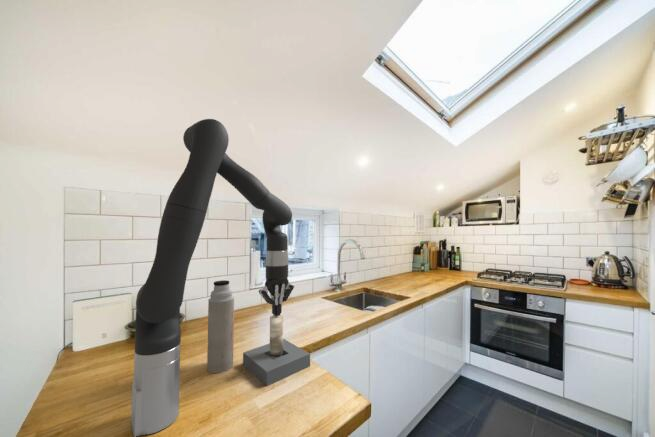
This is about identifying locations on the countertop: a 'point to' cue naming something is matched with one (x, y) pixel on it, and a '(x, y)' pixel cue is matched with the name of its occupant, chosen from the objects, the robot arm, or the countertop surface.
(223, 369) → the thermos bottle
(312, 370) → the countertop surface
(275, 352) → the ash peg
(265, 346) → the gray board
